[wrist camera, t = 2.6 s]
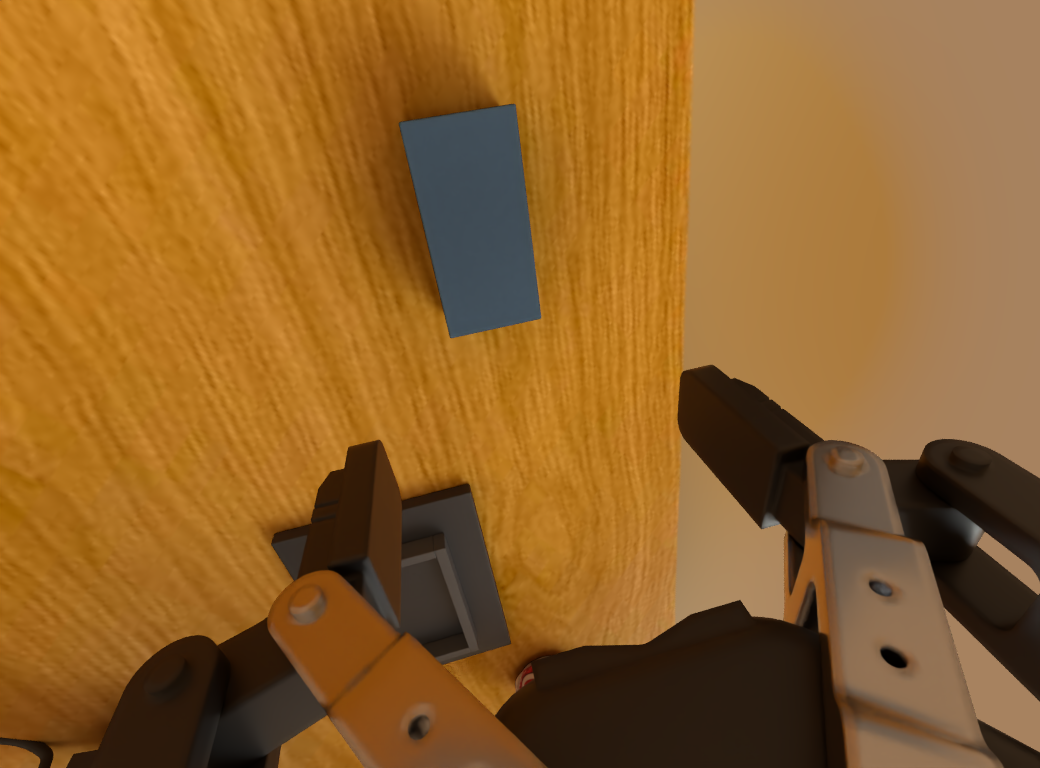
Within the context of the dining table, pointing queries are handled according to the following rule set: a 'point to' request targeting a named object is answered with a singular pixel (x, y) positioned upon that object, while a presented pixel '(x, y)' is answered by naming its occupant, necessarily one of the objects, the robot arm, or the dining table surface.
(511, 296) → the blue rectangular block
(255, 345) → the dining table surface
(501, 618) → the backing plate
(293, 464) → the dining table surface
